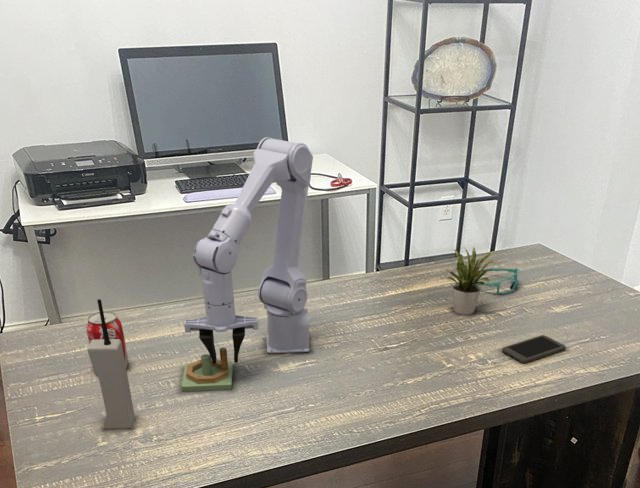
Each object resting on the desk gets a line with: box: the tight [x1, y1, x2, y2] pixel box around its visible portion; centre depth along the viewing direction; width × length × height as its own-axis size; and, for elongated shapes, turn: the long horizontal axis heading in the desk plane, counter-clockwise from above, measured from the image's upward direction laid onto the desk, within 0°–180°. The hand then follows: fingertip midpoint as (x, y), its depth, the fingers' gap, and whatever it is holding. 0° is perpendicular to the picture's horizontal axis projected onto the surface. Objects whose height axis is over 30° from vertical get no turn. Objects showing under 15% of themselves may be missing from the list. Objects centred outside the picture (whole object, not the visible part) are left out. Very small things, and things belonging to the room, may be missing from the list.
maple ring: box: [186, 347, 229, 384], centre depth 140 cm, size 8×8×6 cm
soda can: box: [85, 310, 129, 368], centre depth 142 cm, size 7×7×12 cm
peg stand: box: [180, 353, 234, 392], centre depth 141 cm, size 10×10×5 cm
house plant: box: [444, 247, 500, 316], centre depth 170 cm, size 14×14×16 cm
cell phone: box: [501, 334, 566, 364], centre depth 156 cm, size 7×14×1 cm, turn 123°
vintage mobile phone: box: [86, 298, 136, 430], centre depth 120 cm, size 4×5×25 cm
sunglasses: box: [476, 267, 521, 295], centre depth 189 cm, size 14×15×5 cm
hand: (225, 361), depth 141 cm, fingers open, 4 cm apart
